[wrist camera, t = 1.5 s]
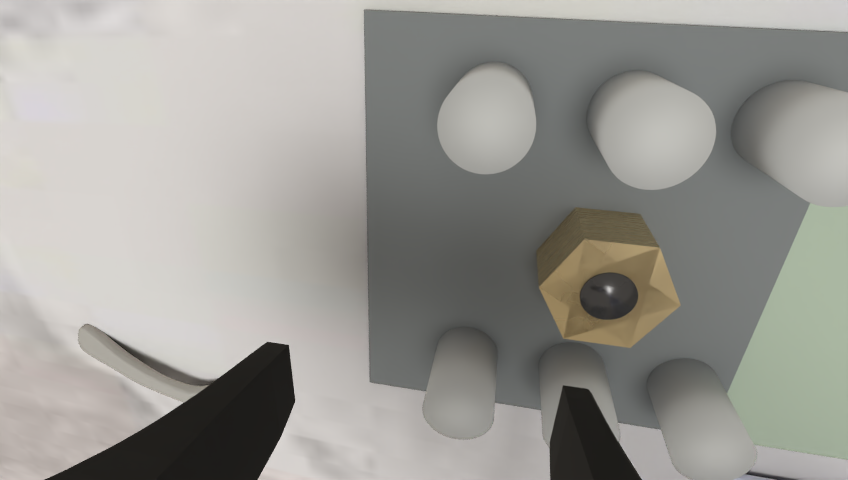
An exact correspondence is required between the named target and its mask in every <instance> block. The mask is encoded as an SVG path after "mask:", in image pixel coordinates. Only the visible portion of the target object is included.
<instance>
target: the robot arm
mask: <svg viewBox="0 0 848 480" xmlns="http://www.w3.org/2000/svg"><path fill="white" fill-rule="evenodd" d="M294 403H295V395H294V387H293V378H292V369H291V361H290V352H289V345H285V344H278V343H271V342H267V343H265V344H264V345H262V346H261V347H260V348H258V349H257V350H256V351H254V352H253V353H252V354H250V355H249V356H248V357H246V358H245V359H244V360H242V361H241V362H240V363H238V364H237V365H236V366H234V367H233V368H232V369H230V370H229V371H228V372H226V373H225V374H224V375H222V376H221V377H220V378H218V379H217V380H216V381H214V382H213V383H211V384H210V385H209V386H207V387H206V388H205V389H203V390H202V391H200V392H199V393H198V394H196V395H195V396H193V397H192V398H190V399H189V400H187V401H186V402H184V403H183V404H181V405H180V406H178V407H177V408H175V409H174V410H172V411H171V412H169V413H168V414H166V415H165V416H163V417H162V418H160V419H159V420H157V421H155V422H154V423H152V424H150V425H149V426H147V427H146V428H144V429H142V430H141V431H139V432H137V433H135V434H134V435H132V436H130V437H128V438H127V439H125V440H123V441H121V442H120V443H118V444H116V445H114V446H112V447H110V448H108V449H106V450H104V451H102V452H101V453H99V454H97V455H95V456H93V457H91V458H89V459H87V460H85V461H83V462H81V463H79V464H77V465H75V466H73V467H71V468H69V469H67V470H65V471H63V472H60V473H58V474H56V475H54V476H52V477H50V478H47V479H45V480H257V479H258V478H259V476H260V474H261V472H262V470H263V469H264V467H265V465H266V463H267V461H268V460H269V458H270V456H271V454H272V452H273V450H274V449H275V447H276V445H277V443H278V441H279V439H280V437H281V435H282V433H283V430H284V428H285V426H286V423H287V421H288V418H289V416H290V413H291V410H292V408H293V405H294ZM550 479H551V480H642V479H641V478H640V476H639V474H638V473H637V471H636V470H635V468H634V467H633V465H632V463H631V462H630V460H629V459H628V457H627V455H626V454H625V452H624V451H623V449H622V447H621V446H620V444H619V442H618V441H617V439H616V437H615V435H614V434H613V432H612V430H611V428H610V427H609V425H608V423H607V421H606V419H605V418H604V416H603V414H602V412H601V410H600V408H599V406H598V404H597V402H596V401H595V399H594V397H593V395H592V393H591V392H590V390H589V389H586V388H579V387H572V386H565V385H563V387H562V392H561V396H560V400H559V404H558V409H557V413H556V417H555V421H554V426H553V430H552V434H551V438H550ZM734 480H775V479H770V478H764V477H758V476H752V475H746V474H744V475H743V476H741V477H739V478H736V479H734Z"/></svg>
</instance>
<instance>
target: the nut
mask: <svg viewBox="0 0 848 480" xmlns="http://www.w3.org/2000/svg"><path fill="white" fill-rule="evenodd" d="M536 254H537V268H538V283H539V289H540V291H541V293H542V295H543V297H544V299H545V301H546V303H547V306H548V308H549V310H550V312H551V314H552V316H553V318H554V320H555V322H556V324H557V327H558V329H559V331H560V333H561V335H562V337H563V339H570V340H577V341H584V342H591V343H598V344H605V345H613V346H620V347H627V348H631V347H632V346H633V345H634V344H636V343H637V342H638V341H639V340H640V339H641V338H643V337H644V336H645V335H646V334H647V333H649V332H650V331H651V330H652V329H653V328H655V327H656V326H657V325H658V324H659V323H660V322H662V321H663V320H664V319H665V318H666V317H668V316H669V315H670V314H671V313H672V312H674V311H675V310H676V309H677V308H678V307H679V306H681V304H680V302H679V299H678V296H677V293H676V291H675V288H674V285H673V282H672V279H671V277H670V274H669V271H668V268H667V266H666V263H665V260H664V257H663V255H662V252H661V249H660V247H659V245H658V243H657V242H656V240H655V238H654V237H653V235H652V233H651V231H650V230H649V228H648V226H647V225H646V223H645V221H644V219H643V218H642V216H641V214H637V213H628V212H618V211H608V210H598V209H588V208H578V207H575V208H574V209H573V211H572V212H571V213H570V214H569V215H568V216H567V217H566V218H565V219H564V221H563V222H562V223H561V224H560V225H559V226H558V227H557V228H556V229H555V231H554V232H553V233H552V234H551V235H550V236H549V237H548V238H547V239H546V241H545V242H544V243H543V244H542V245H541V246H540V247H539V248H538V249H537V251H536Z"/></svg>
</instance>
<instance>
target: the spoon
mask: <svg viewBox="0 0 848 480" xmlns="http://www.w3.org/2000/svg"><path fill="white" fill-rule="evenodd" d="M78 341H79V345H80V347H81V348H82V350H83V351H85V352H86V353H87V354H89V355H91V356H92V357H94V358H96V359H97V360H99V361H101V362H103V363H104V364H106V365H108V366H109V367H111V368H113V369H114V370H116V371H118V372H119V373H121V374H123V375H124V376H126V377H128V378H129V379H131V380H133V381H135V382H136V383H138V384H140V385H142V386H144V387H147V388H149V389H151V390H154V391H156V392H158V393H161V394H163V395H166V396H168V397H171V398H174V399H176V400H179V401H182V402H186V401H187V400H189V399H190V398H192V397H193V396H195V395H196V394H198V393H199V392H200V391H202V390H203V389H205V388H206V387H207V386H209V385H210V384H209V385H205V386H196V385H190V384H186V383H183V382H180V381H177V380H174V379H172V378H169V377H167V376H165V375H163V374H161V373H159V372H157V371H156V370H154V369H152V368H151V367H149V366H148V365H146V364H144V363H143V362H141V361H140V360H138V359H137V358H135V357H134V356H132V355H131V354H130V353H128V352H127V351H126V350H124V349H123V348H122V347H120V346H119V345H118V344H117V343H115V342H114V341H113V340H112V339H111V338H110V337H108V336H107V335H106V334H105V333H104V332H102V331H100V330H99V329H97V328H96V327H94V326H91V325H89V324H85V325H84V326H82V327H81V328H80V329H79V333H78Z"/></svg>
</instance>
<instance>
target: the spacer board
mask: <svg viewBox="0 0 848 480" xmlns="http://www.w3.org/2000/svg"><path fill="white" fill-rule="evenodd" d="M364 45H365V109H366V172H367V235H368V298H369V361H370V382H371V383H377V384H384V385H390V386H396V387H402V388H408V389H414V390H421V391H426V394H425V398H424V402H423V415H424V418H425V420H426V421H427V423H428V424H429V425H430V426H431V427H432V428H433V429H434V430H435V431H437V432H438V433H440V434H442V435H444V436H447V437H450V438H454V439H462V440H466V439H473V438H477V437H479V436H481V435H483V434H485V433H486V432H487V431H488V430H489V429H490V428H491V426H492V424H493V420H494V407H495V403H501V404H507V405H513V406H519V407H525V408H531V409H537V410H541V414H542V432H543V438H544V440H545V442H546V444H547V445H548V446H549V448H550V438H551V434H552V430H553V426H554V421H555V417H556V413H557V409H558V404H559V400H560V396H561V392H562V387H563V385H565V386H572V387H579V388H586V389H589V390H590V392H591V393H592V395H593V397H594V399H595V401H596V402H597V404H598V406H599V408H600V410H601V412H602V414H603V416H604V418H605V419H606V421H607V423H608V425H609V427H610V428H611V430H612V432H613V434H614V435H615V437H616V439H617V441H618V442H619V440H620V429H619V425H618V423H624V424H630V425H636V426H642V427H648V428H654V429H661V431H662V434H663V437H664V440H665V443H666V446H667V449H668V452H669V455H670V458H671V461H672V464H673V465H674V467H675V468H676V470H677V471H678V472H679V473H681V474H682V475H684V476H685V477H687V478H690V479H692V480H734V479H736V478H739V477H741V476H743V475H744V474H746V473H747V472H748V471H749V470H750V469H751V468H752V467H753V466H754V464H755V462H756V459H757V451H756V448H755V445H759V446H765V447H771V448H778V449H784V450H790V451H796V452H802V453H808V454H814V455H821V456H827V457H833V458H839V459H845V460H848V32H826V31H805V30H784V29H763V28H741V27H720V26H699V25H678V24H657V23H635V22H614V21H593V20H572V19H550V18H529V17H508V16H487V15H466V14H444V13H423V12H402V11H381V10H364ZM575 207H578V208H588V209H598V210H608V211H618V212H628V213H637V214H641V216H642V218H643V219H644V221H645V223H646V225H647V226H648V228H649V230H650V231H651V233H652V235H653V237H654V238H655V240H656V242H657V243H658V245H659V247H660V249H661V252H662V255H663V257H664V260H665V263H666V266H667V268H668V271H669V274H670V277H671V279H672V282H673V285H674V288H675V291H676V293H677V296H678V299H679V302H680V304H681V306H679V307H678V308H677V309H676V310H675V311H674V312H672V313H671V314H670V315H669V316H668V317H666V318H665V319H664V320H663V321H662V322H660V323H659V324H658V325H657V326H656V327H655V328H653V329H652V330H651V331H650V332H649V333H647V334H646V335H645V336H644V337H643V338H641V339H640V340H639V341H638V342H637V343H636V344H634V345H633V346H632V347H631V348H627V347H620V346H613V345H605V344H598V343H591V342H584V341H577V340H570V339H563V337H562V335H561V333H560V331H559V329H558V327H557V324H556V322H555V320H554V318H553V316H552V314H551V312H550V310H549V308H548V306H547V303H546V301H545V299H544V297H543V295H542V293H541V291H540V289H539V283H538V268H537V254H536V251H537V249H538V248H539V247H540V246H541V245H542V244H543V243H544V242H545V241H546V239H547V238H548V237H549V236H550V235H551V234H552V233H553V232H554V231H555V229H556V228H557V227H558V226H559V225H560V224H561V223H562V222H563V221H564V219H565V218H566V217H567V216H568V215H569V214H570V213H571V212H572V211H573V209H574V208H575Z"/></svg>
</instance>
